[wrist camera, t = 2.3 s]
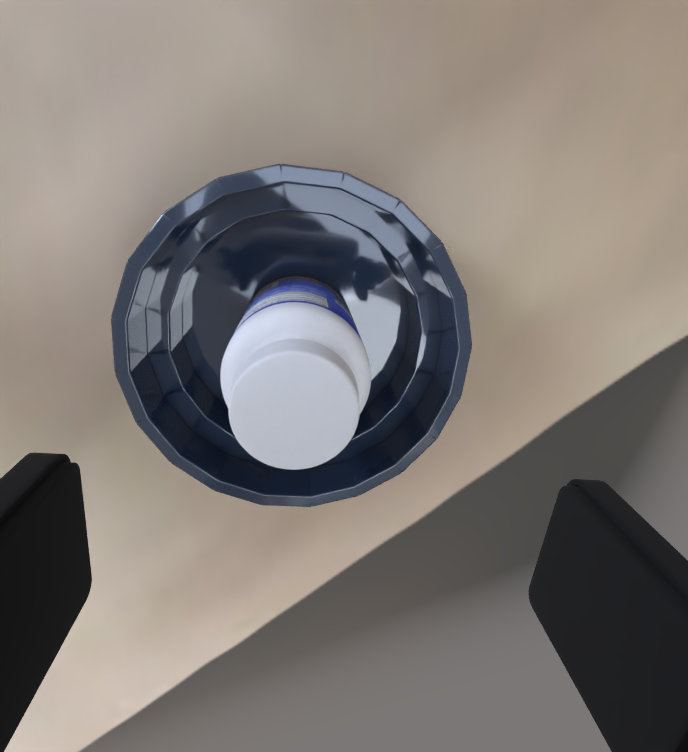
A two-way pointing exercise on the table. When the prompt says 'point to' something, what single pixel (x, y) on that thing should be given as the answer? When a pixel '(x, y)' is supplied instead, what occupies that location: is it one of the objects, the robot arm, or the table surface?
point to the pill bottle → (295, 375)
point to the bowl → (245, 279)
